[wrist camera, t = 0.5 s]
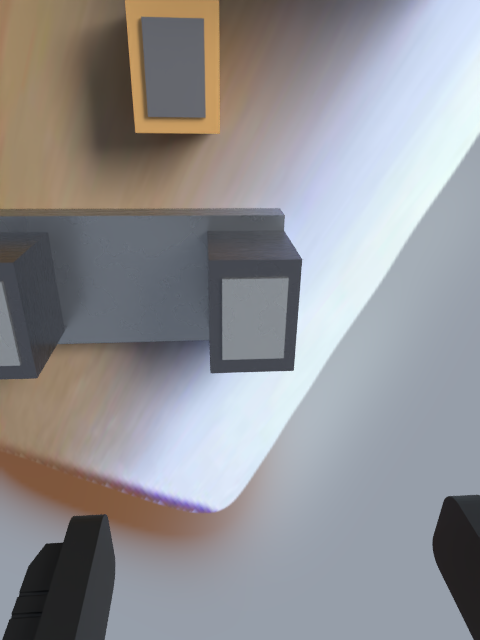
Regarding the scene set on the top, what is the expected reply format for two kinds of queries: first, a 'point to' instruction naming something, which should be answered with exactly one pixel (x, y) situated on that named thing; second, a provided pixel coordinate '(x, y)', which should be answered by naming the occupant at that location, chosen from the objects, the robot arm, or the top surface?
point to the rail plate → (148, 284)
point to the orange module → (174, 65)
